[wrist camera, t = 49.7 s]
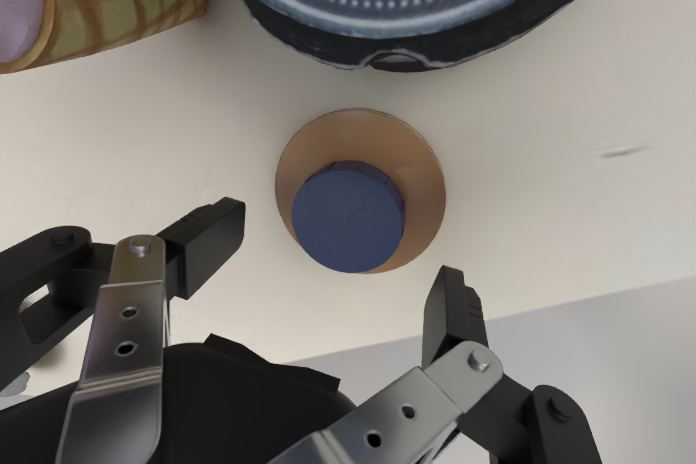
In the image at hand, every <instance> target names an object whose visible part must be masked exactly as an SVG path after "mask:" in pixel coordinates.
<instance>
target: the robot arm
mask: <svg viewBox="0 0 696 464" xmlns="http://www.w3.org/2000/svg"><path fill="white" fill-rule="evenodd" d="M245 210H246V206H245V203H244V202H242V201H239V200H235V199H232V198H229V197H224V198H222V199H221V200H219V201H218V202H216V203H215V204H213V205H210V204H208V205H205V206H202V207H198V208H196V209H194V210H193V211H191V212H190V213H188V215H185V216H184V217H182V218H181V219H180V220H178V221H176V222H175V223H173V224H172V225H170V226H169V227H167V228H165V229H164V230H162V231H161V232H159V233H158V234H156V235H155V236H153V235H134V236H130V237H127V238H124V239H122V240H121V241H119V242H118V243H117V244H116V245H112V244H102V243H92V239H91V234H90V232H89V231H88V230H87V229H85V228H82V227H78V226H60V227H54V228H50V229H47V230H44V231H42V232H40V233H38V234H36V235H34V236H32V237H30V238H28V239H26V240H24V241H22V242H20V243H18V244H16V245H14V246H12V247H10V248H8V249H6V250H4V251H2V252H0V392H1V391H2V390H3V389H5V388H6V387H7V386H8V385H9V384H11V383H12V382H13V381H14V380H15V379H17V378H18V377H19V376H20V375H21V374H22V373H24V372H25V371H26V370H27V369H28V368H30V367H31V366H32V365H33V364H34V363H35V362H37V361H38V360H39V359H40V358H41V357H43V356H44V355H45V354H46V353H47V352H49V351H50V350H51V349H52V348H53V347H54V346H56V345H57V344H58V343H59V342H60V341H62V340H63V339H64V338H65V337H66V336H68V335H69V334H70V333H71V332H72V331H73V330H75V329H76V328H77V327H78V326H79V325H81V324H82V323H83V322H84V321H85V320H87V319H88V318H89V317H90V316H91V315H92V314H94V315H93V320H92V324H91V329H90V334H89V338H88V343H87V347H86V352H85V356H84V361H83V365H82V370H81V374H80V379H79V380H78V381H75V382H73V383H70V384H68V385H65V386H62V387H60V388H57V389H55V390H52V391H49V392H47V393H44V394H42V395H39V396H36V397H34V398H32V399H29V400H26V401H24V402H21V403H18V404H16V405H13V406H10V407H8V408H5V409H3V410H0V464H432V463H433V462H434V461H435V460H436V459H437V458H438V457H439V456H440V455H441V454H442V453H443V452H444V450H446V448H448V446H450V444H451V443H452V442H453V441H454V440H455V439H456V438H457V437H458V436H459V435H460V434H461V433H463V434H464V435H466V436H467V437H469V438H470V439H472V440H473V441H474V442H476V443H477V444H479V445H480V446H482V447H483V448H484V449H486V450H487V451H489V458H490V464H602V461H601V458H600V455H599V453H598V450H597V447H596V444H595V441H594V439H593V435H592V432H591V430H590V427H589V424H588V421H587V418H586V416H585V414H584V413H583V411H582V409H581V408H580V407H579V405H578V404H577V403H576V402H575V401H574V400H573V399H572V398H571V397H569V396H568V395H567V394H566V393H564V392H563V391H561V390H559V389H557V388H555V387H552V386H549V385H539V386H537V387H535V389H534V390H533V391H531V390H529V389H527V388H526V387H524V386H522V385H521V384H519V383H517V382H516V381H514V380H512V379H511V378H509V377H508V376H507V375H506V374H504V373H503V366H502V363H501V361H500V360H499V359H498V357H497V356H496V355H495V354H494V353H493V352H492V351H491V350H490V349H489V346H488V341H487V335H486V329H485V324H484V320H483V312H482V306H481V301H480V298H479V296H478V295H477V293H476V292H475V290H474V289H473V288H471V287H468V286H465V283H464V275H463V271H461V270H458V269H454V268H451V267H448V266H445V265H443V266H442V267H441V268H440V270H439V272H438V275H437V277H436V279H435V281H434V284H433V286H432V288H431V290H430V292H429V295H428V297H427V300H426V304H425V308H424V323H423V344H422V365H421V368H420V367H419V366H417V367H414V368H412V369H411V370H409V371H408V372H407V373H405V374H404V375H403V376H401V377H400V378H398V379H397V380H395V381H394V382H392V383H391V384H390V385H388V386H387V387H385V388H384V389H382V390H381V391H379V392H378V393H377V394H375V395H374V396H372V397H371V398H370V399H368V400H367V401H365V402H364V403H362V404H361V405H359V406H358V407H356V405H355V404H354V403H353V402H352V401H351V400H350V399H349V398H348V397H346V396H345V395H344V394H343V393H341V392H340V391H338V387H339V383H340V380H341V379H339V378H336V377H333V376H330V375H327V374H325V373H322V372H319V371H316V370H313V369H310V368H307V367H298V366H289V365H280V364H273V363H270V362H268V361H266V360H265V359H263V358H262V357H260V356H259V355H257V354H256V353H254V352H253V351H251V350H250V349H248V348H247V347H245V346H244V345H242V344H240V343H237V342H234V341H231V340H228V339H226V338H223V337H220V336H217V335H214V334H212V333H211V334H210V335H209V336H208V338H207V339H206V340H205V341H204V343H181V344H176V345H171V344H170V300H171V299H172V298H173V297H174V296H177V297H179V298H182V299H185V300H188V299H189V298H190V297H191V296H192V295H193V294H194V293H195V292H196V291H197V290H198V289H199V288H200V287H201V286H202V285H203V284H204V283H205V282H206V281H207V280H208V279H209V278H210V277H211V276H212V275H213V274H214V273H215V272H216V271H217V270H218V269H219V268H220V267H221V266H222V265H223V264H224V263H225V262H226V261H227V260H228V259H229V258H230V257H231V256H232V255H233V254H234V253H235V252H236V251H237V250H238V249H239V247H240V246H241V243H242V241H243V237H244V225H245ZM46 284H47V287H48V290H49V294H47V295H46V296H44V297H43V298H41V299H40V300H38V301H37V302H35V303H34V304H33V305H31V306H30V307H28V308H27V309H25V310H24V311H22V312H21V313H19V307H20V305H21V303H22V302H23V300H24V299H25V298H26V297H27V296H29V295H30V294H32V293H33V292H35V291H36V290H38V289H39V288H41V287H43V286H44V285H46Z"/></svg>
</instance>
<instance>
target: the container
mask: <svg viewBox="0 0 696 464" xmlns="http://www.w3.org/2000/svg"><path fill="white" fill-rule="evenodd" d="M241 1H242V2H243V4H244V6H245V8H246V10H247V11H248V13H249V15H250V17H251V19H252V20H253V22H254V23H255V24H257V25H258V26H259V27H260V28H262V29H263V30H264V31H265V32H267V33H268V34H269V35H270V36H272V37H273V38H274V39H276V40H277V41H279V42H280V43H282V44H283V45H285V46H286V47H288V48H290V49H292V50H294V51H296V52H299V53H301V54H303V55H305V56H307V57H310V58H312V59H314V60H316V61H318V62H320V63H323V64H327V65H330V66H333V67H335V68H337V69H344V70H353V69H362V68H364V67H366V66H367V65H369V64H370V65H371V66H372V67H373V68H374V69H378V70H384V71H390V72H405V73H409V72H423V71H429V70H436V69H442V68H448V67H452V66H456V65H459V64H461V63H464V62H467V61H469V60H472V59H474V58H477V57H479V56H482V55H484V54H487V53H489V52H491V51H494V50H496V49H499V48H502V47H504V46H506V45H507V44H509V43H511V42H513V41H515V40H517V39H519V38H521V37H522V36H524V35H525V34H527V33H528V32H530V31H531V30H533V29H534V28H536V27H537V26H539V25H540V24H542V23H543V22H545V21H546V20H548V19H549V18H551V17H552V16H554V15H555V14H556V13H558V12H559V11H561V10H562V9H563V8H565V7H566V6H567V5H569V4H570V3H571V2H573V1H574V0H241Z"/></svg>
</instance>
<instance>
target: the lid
mask: <svg viewBox="0 0 696 464" xmlns="http://www.w3.org/2000/svg"><path fill="white" fill-rule="evenodd" d="M390 177H391V176H390V175H389V176H388V175H387V174H385V173H384V172H383V171H382V170H380V169H378V168H377V167H375V166H373V165H371V164H368V163H365V161H362V162H361V161H355V160H344V161H338V162H336V161H333V162H332V163H331V164H328V165H327V166H325V167H323V168H321V169H320V170H319V171H317V172H316V173H315V174H314V175H313V174H312V175H311V176H310V177H309V178H308V179H307V180H306V181H305V182H304V183H305V184H304V185H303V186H302V187H301V188H300V190H299V191H298V193H297V195H296V197H295V199H294V202H293V206H292V214H291V217H292V225H293V230H294V233H295V235H296V238H297V240H298V242H299V243H300V245H301V246H302V248H303V249H304V250H305V251H306V252H307V253H308V254H309V255H310V256H311V257H312V258H313V259H314V260H316V261H317V262H318V263H320V264H322V265H324V266H326V267H328V268H330V269H333V270H336V271H340V272H346V273H360V272H366V271H369V270H372V269H375V268H377V267H379V266H381V265H382V264H383V263H385V262H386V261H387V260H388V259H389V258H390V257H391V256H392V255H393V254H394V253H395V251H396V249H397V248H398V245H399V243H400V240H401V238H402V237H403V232H404V220H405V206H404V204H405V200H403V198H402V195H401V193H400V191H399V189H398V187H397V186H396V184H395V183H394V181H393V180H392V179H391V178H390Z"/></svg>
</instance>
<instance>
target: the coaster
mask: <svg viewBox="0 0 696 464" xmlns="http://www.w3.org/2000/svg"><path fill="white" fill-rule="evenodd" d="M344 160H355V161H361V162H362V161H365V163H368V164H371V165H373V166H375V167H377V168H378V169H380V170H382V171H383V172H384V173H385V174H387V175H388V176H389V175H390V176H391V177H390V178H391V179H392V180H393V181H394V183H395V184H396V186H397V187H398V189H399V191H400V193H401V195H402V198H403V200H405V204H404V206H405V220H404V232H403V237H402V238H401V240H400V243H399V245H398V248H397V249H396V251H395V253H394V254H393V255H392V256H391V257H390V258H389V259H388V260H387V261H386V262H385V263H383V264H382V265H381V266H379V267H377V268H375V269H372V270H369V271H366V272H360V273H362V274H371V273H380V272H386V271H389V270H393V269H396V268H398V267H401V266H403V265H405V264H407V263H408V262H410V261H412V260H413V259H415V258H416V257H417V256H418V255H420V254H421V253H422V252H423V251H424V250H425V249H426V248H427V247H428V246H429V244H430V243H431V242H432V240H433V239H434V238H435V236H436V234H437V232H438V230H439V228H440V225H441V223H442V220H443V216H444V211H445V203H446V192H445V181H444V177H443V173H442V170H441V167H440V164H439V162H438V159H437V158H436V156H435V154H434V152H433V151H432V149H431V148H430V146H429V145H428V144H427V142H426V141H425V140H424V139H423V138H422V137H421V136H420V135H419V134H418V133H417V132H416V131H415V130H414V129H413V128H411V127H410V126H408V125H407V124H406V123H404V122H402V121H401V120H399V119H397V118H395V117H393V116H390V115H388V114H385V113H383V112H378V111H374V110H369V109H358V108H357V109H344V110H339V111H334V112H331V113H328V114H325V115H323V116H321V117H319V118H317V119H315V120H313V121H311V122H310V123H308V124H307V125H306V126H304V127H303V128H301V129H300V130H299V131H298V132H297V133H296V134H295V135H294V136H293V138H292V139H291V140H290V142H289V143H288V144H287V146H286V148H285V149H284V151H283V153H282V155H281V158H280V161H279V163H278V167H277V172H276V180H275V192H276V200H277V205H278V209H279V212H280V215H281V217H282V219H283V222H284V224H285V226H286V227H287V229H288V231H289V232H290V234H291V235H292V236H293V238H294V239H295V240H296V241H297V243H298V244H299V245H300V243H299V242H298V240H297V238H296V235H295V233H294V230H293V225H292V217H291V214H292V206H293V202H294V199H295V197H296V195H297V193H298V191H299V190H300V188H301V187H302V186H303V185H304V184H305V183H304V182H305V181H306V180H307V179H308V178H309V177H310V176H311V175H312V174H313V175H314V174H315V173H316V172H317V171H319V170H320V169H321V168H323V167H325V166H327V165H328V164H331V163H332V162H333V161H336V162H338V161H344ZM300 246H301V245H300ZM301 247H302V246H301Z"/></svg>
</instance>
